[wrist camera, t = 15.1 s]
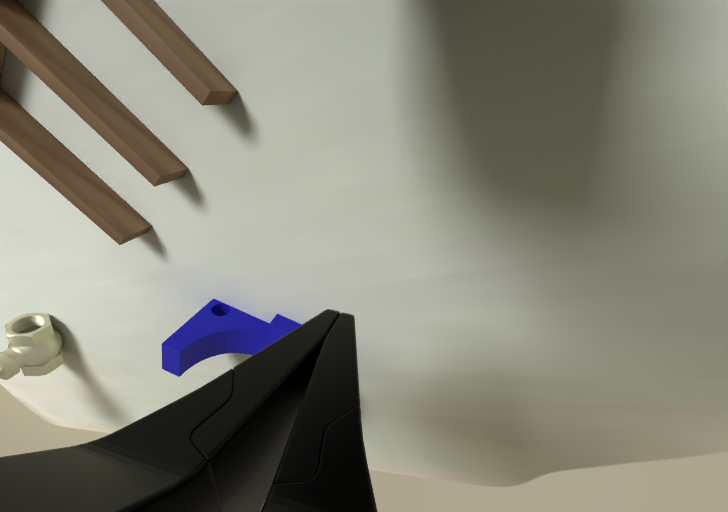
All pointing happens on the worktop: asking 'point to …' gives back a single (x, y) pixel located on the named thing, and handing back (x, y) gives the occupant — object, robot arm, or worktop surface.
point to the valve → (31, 347)
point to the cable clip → (220, 336)
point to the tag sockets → (101, 109)
